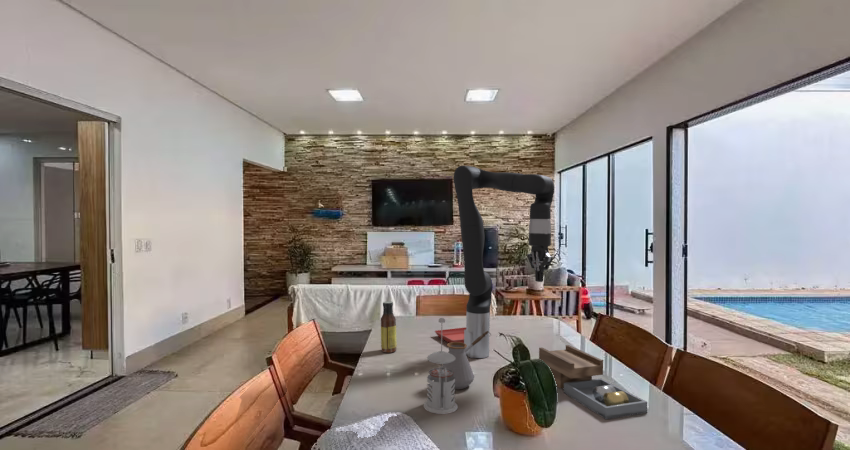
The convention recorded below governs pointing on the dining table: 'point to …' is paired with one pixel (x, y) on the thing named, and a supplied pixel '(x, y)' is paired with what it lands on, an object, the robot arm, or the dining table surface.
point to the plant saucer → (452, 335)
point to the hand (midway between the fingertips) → (539, 281)
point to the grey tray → (584, 395)
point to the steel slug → (602, 391)
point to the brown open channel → (571, 365)
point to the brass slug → (615, 398)
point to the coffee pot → (461, 363)
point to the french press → (441, 383)
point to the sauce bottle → (388, 328)
